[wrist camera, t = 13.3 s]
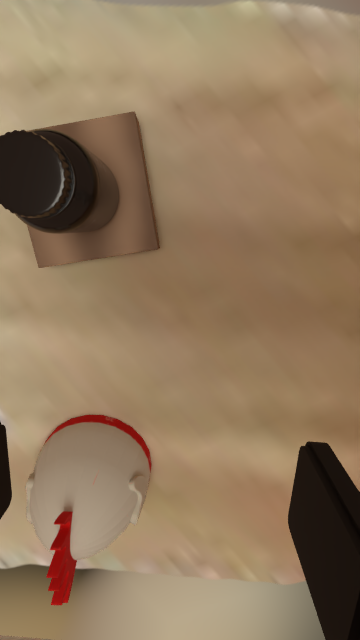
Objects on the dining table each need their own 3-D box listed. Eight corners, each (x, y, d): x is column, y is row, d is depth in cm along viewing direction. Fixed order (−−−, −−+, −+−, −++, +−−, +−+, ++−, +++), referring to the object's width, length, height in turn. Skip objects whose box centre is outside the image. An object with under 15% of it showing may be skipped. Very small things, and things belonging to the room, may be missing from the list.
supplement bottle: (36, 167, 30) (-55, 125, 18) (107, 146, 29) (59, 89, 18) (62, 241, 32) (-6, 246, 20) (130, 222, 31) (99, 216, 19)
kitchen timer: (48, 505, 44) (-19, 641, 29) (37, 413, 40) (-44, 516, 25) (151, 507, 44) (137, 643, 29) (151, 415, 40) (133, 519, 25)
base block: (138, 122, 32) (134, 111, 29) (159, 247, 35) (157, 249, 32) (19, 144, 32) (3, 135, 29) (50, 265, 35) (38, 268, 32)
